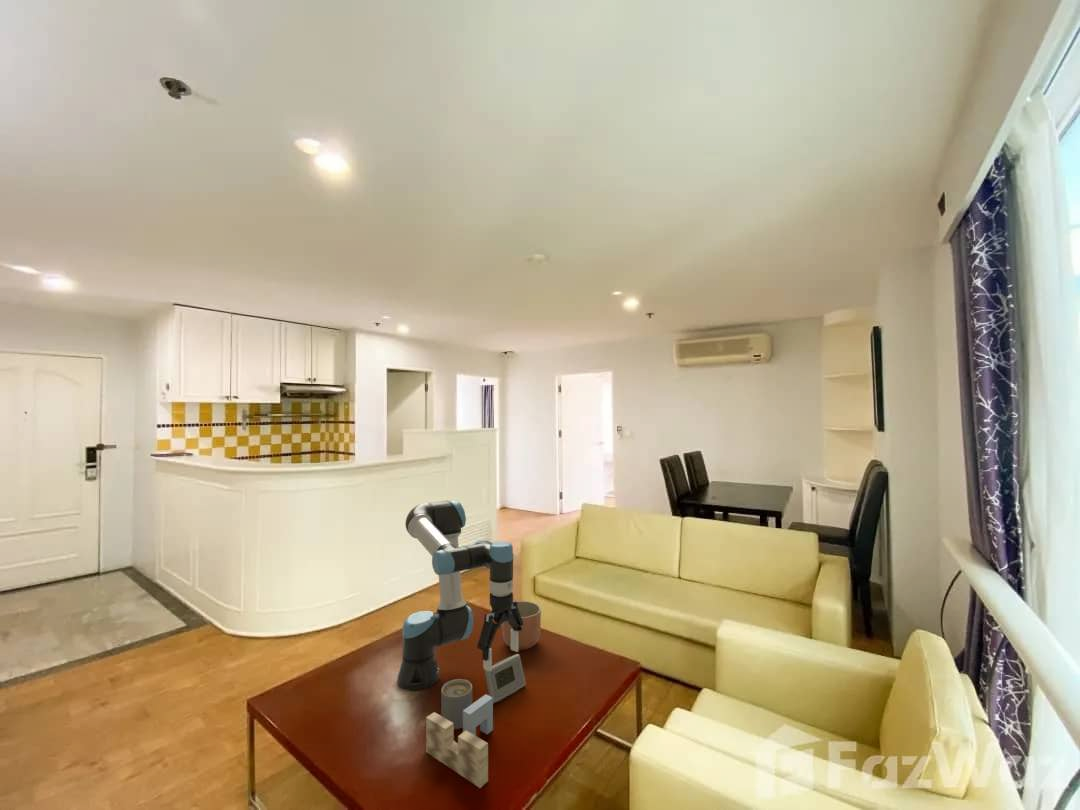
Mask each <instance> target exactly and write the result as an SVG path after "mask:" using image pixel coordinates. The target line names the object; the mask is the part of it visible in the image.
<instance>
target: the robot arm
mask: <svg viewBox="0 0 1080 810" xmlns="http://www.w3.org/2000/svg"><path fill="white" fill-rule="evenodd" d="M466 522H467V515H466V512H465V509H464V506H463V505H462V503H461V502H460V501H459V500H452V499H451V500H442V501H441V500H440V501H434V502H424V503H420V504H418V505H416V506H415V507H413V508H411V510H410V511H409V512H408V514H407V515H406V519H405V524H404V525H405V529H406V531H407V533H408V535H410V536H411V537H412V538H414V539H417V540H418V541H419V542H420V544H421V545H422V546H423V548H425V550H426V551H427V553H429V554H430V556H431V565H432V569H433V572H434V573H435V575H437V576H438V583H439V586H438V587H439V600H440V602H439V604H438V605H437V606H436V613H434V612H433V611H432V610H428V609H427V610H420V611H416V612H414V613H411V614H410V615H408V616H407V617H405V620H403V624H402V633H401V635H402V660H401V664H400V668H399V671H398V672H397V685H398V686H399V688H401V689H403V690H404V691H405V690H406V691H413V692H414V691H422V690H425V689H428V688H430V687H431V686H433V685H434V684H436V683H437V682H438V680H439V679H440V667H439V665H438V663H437V660H436V656H435V648H438V647H441V646H445V645H449V644H452V643H456V642H460V641H462V640H464V639H468V638H469V637H470V635H471V633H472V631H473V628H474V614H473V611H472V608H471V607H470V606H469V605H467V602H466V600H464V599H463V594H462V593H463V591H462V590H463V589H462V577H461V572H464V571H467V570H473V569H478V568H482V567H485V568H487V569H489V589H488V590H489V605H490V607H491V612H490V613H485V614H484V618H483V619H484V620H483V623H482V628H481V630H480V631H481V632H480V635H479V640H478V643H477V647H476V648H477V649H479V650H481V651H482V660H483V666H482V667H483V669H484V671H485V670H488V671H491V670H492V666H493V665H492V664H493V662H492V659H493V658H492V657H493V655H492V651H493V650H492V649H493V648H491V647H492V644H493V642H494V639H495V636H496V634H497V631H498V630H499V628H500V627H501V626H502V623H503V622H505V621H507V622H508V623H509V624H510V626H511V627H512V628H513V629H511V647H510V650H511V651H513V652H516V653H518V652H519V650H518V639H519V631H521V630H522V627H520V626H523V621H522V618H521V615H520V613H519V610H518V606H517V601H516V600H514V593H513V591H514V558H515V557H514V549H513V544H512V543H511V542H509V541H506V540H505V541H503V540H500V541H499V540H498V541H495V542H492V541H488V540H486V539H485V540H484V539H479V540H477V541H476V542H475V543H473V544H470V545H463V546H459V536H460V535H461V534H462V529H463V528H464V527H465V526H466ZM510 611H511V612H510ZM511 613H512V614H511ZM483 669H482V670H483Z"/></svg>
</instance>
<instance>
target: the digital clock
mask: <svg viewBox="0 0 1080 810" xmlns="http://www.w3.org/2000/svg"><path fill="white" fill-rule="evenodd" d="M524 673H525V672H524V669H523V664H522V659H521V656H520V654H519V653H516V654H514V655H511V656H508V657H506V658H504V659H502V660H500V661H498V662H496V663H494V664H493V665H492V670H491V671H488V670H485V669H484V678H485V680H486V687H487V691H488V693H487V694H488V696H490V697H492V698H493V705H494V704H495V703H497V702H500V701H502V700H503V699H505V698H508V697H509V696H511V695H513V694H514V693H516V692H518V691H520V689H522V688H524V687H525V686H526V677H525V674H524ZM507 696H508V697H507Z"/></svg>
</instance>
